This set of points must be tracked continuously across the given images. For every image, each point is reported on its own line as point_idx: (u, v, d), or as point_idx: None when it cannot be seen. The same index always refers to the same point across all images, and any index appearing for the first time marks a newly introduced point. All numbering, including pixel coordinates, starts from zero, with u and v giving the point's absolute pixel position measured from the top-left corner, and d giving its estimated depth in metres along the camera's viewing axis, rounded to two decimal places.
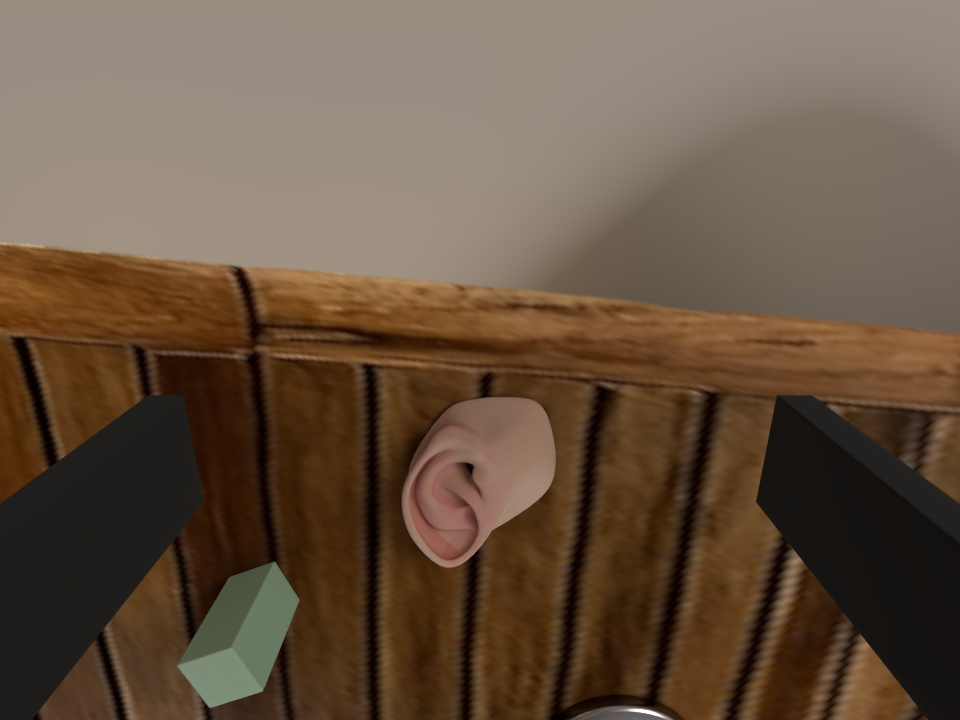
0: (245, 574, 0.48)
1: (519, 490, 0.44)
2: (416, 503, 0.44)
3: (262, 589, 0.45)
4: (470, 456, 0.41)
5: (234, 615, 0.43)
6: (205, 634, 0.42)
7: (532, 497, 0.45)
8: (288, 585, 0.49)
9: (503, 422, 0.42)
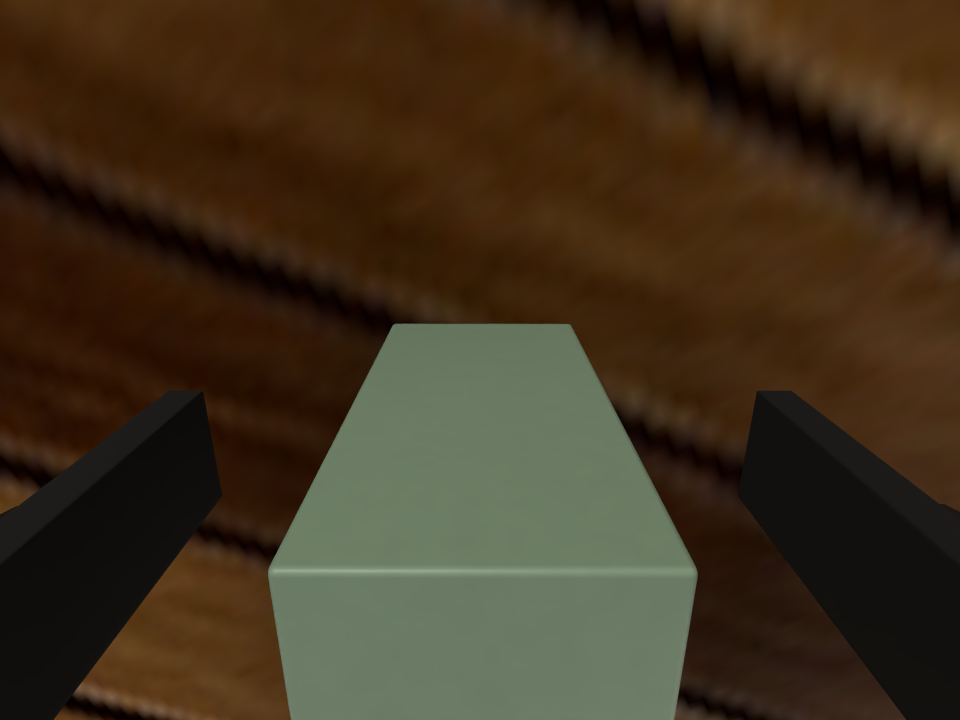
0: None
1: None
2: None
3: (376, 368, 0.11)
4: None
5: None
6: None
7: None
8: (495, 326, 0.14)
9: None
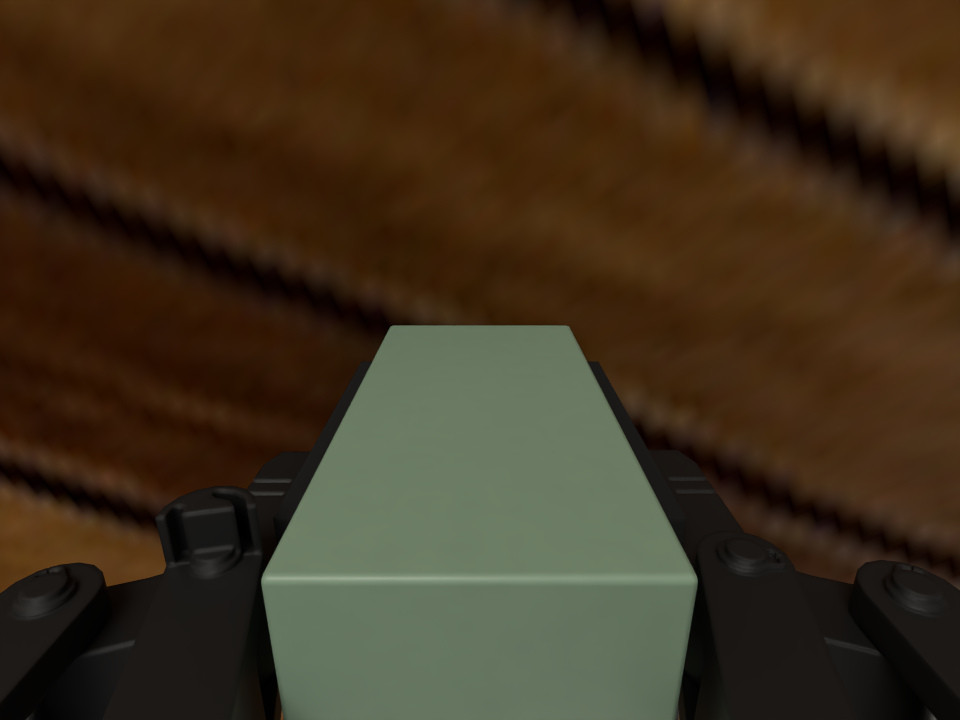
0: None
1: None
2: None
3: (373, 371, 0.11)
4: None
5: None
6: None
7: None
8: (493, 327, 0.14)
9: None
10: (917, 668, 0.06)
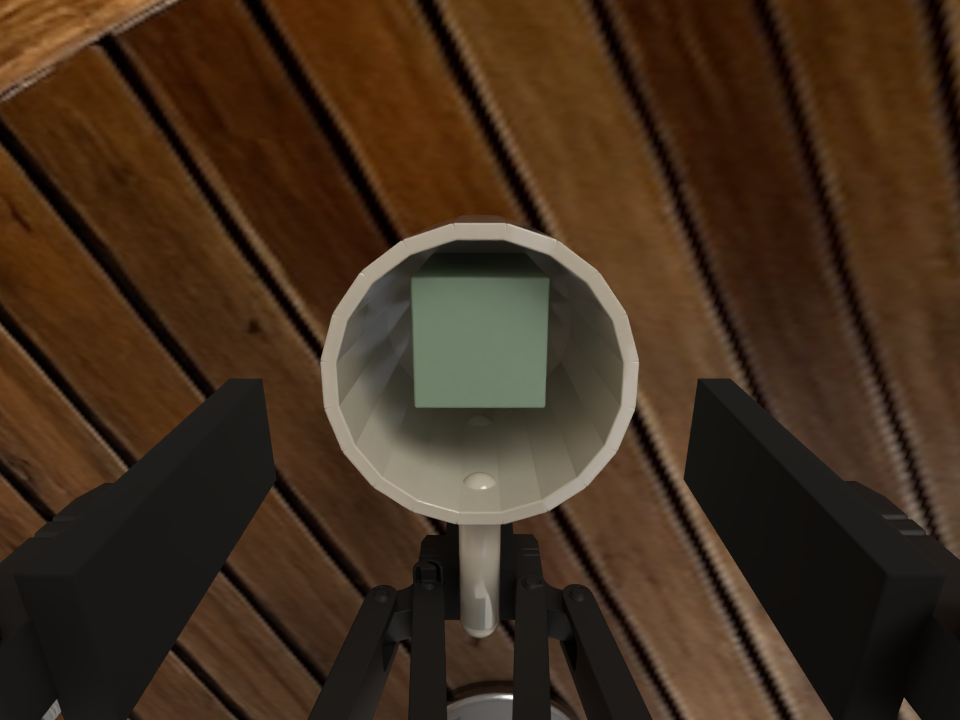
0: None
1: None
2: None
3: (429, 259, 0.24)
4: None
5: None
6: None
7: None
8: (486, 253, 0.27)
9: None
10: None
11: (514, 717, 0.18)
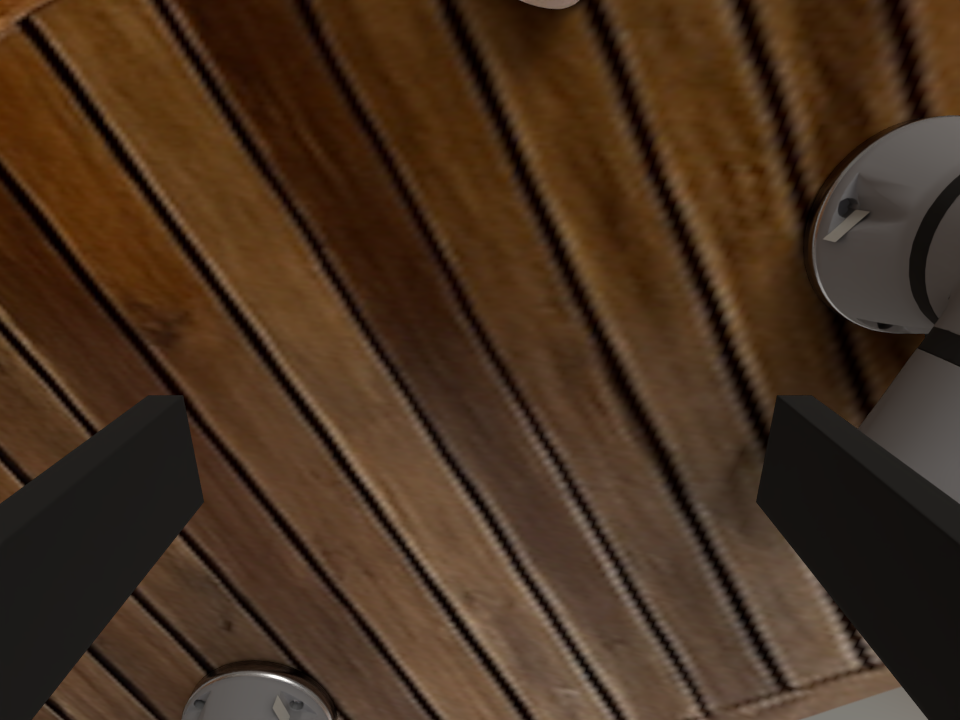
0: None
1: None
2: None
3: None
4: None
5: None
6: None
7: None
8: None
9: None
10: None
11: None
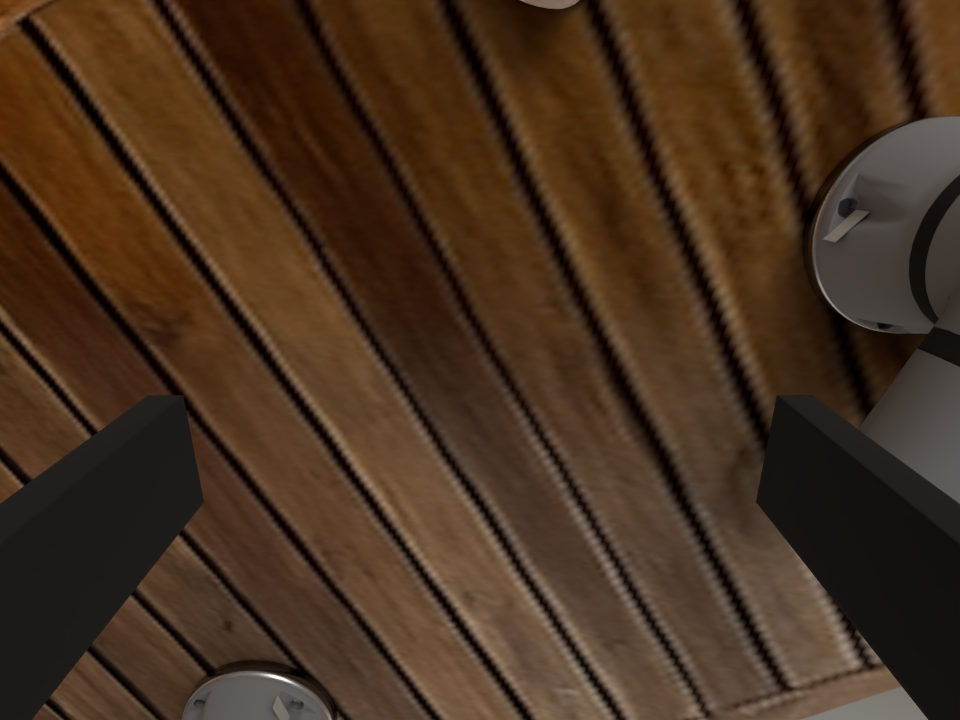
0: None
1: None
2: None
3: None
4: None
5: None
6: None
7: None
8: None
9: None
10: None
11: None
